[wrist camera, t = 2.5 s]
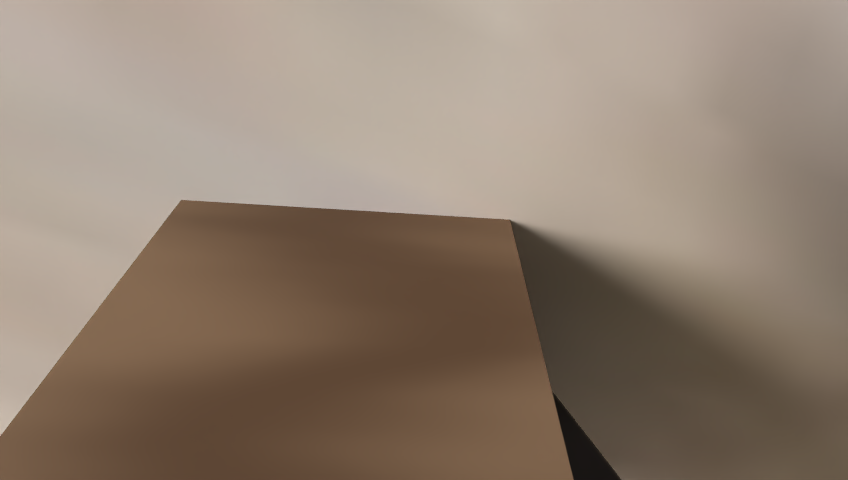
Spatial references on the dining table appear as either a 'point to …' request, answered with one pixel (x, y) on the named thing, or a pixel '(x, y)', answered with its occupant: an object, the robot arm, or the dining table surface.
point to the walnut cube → (302, 357)
